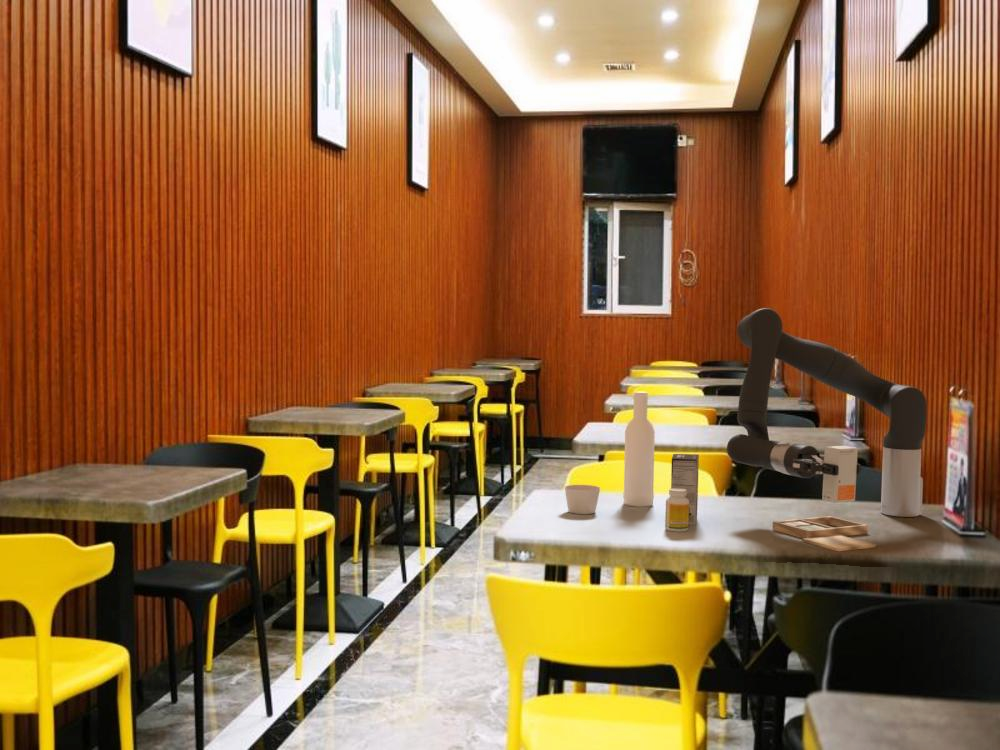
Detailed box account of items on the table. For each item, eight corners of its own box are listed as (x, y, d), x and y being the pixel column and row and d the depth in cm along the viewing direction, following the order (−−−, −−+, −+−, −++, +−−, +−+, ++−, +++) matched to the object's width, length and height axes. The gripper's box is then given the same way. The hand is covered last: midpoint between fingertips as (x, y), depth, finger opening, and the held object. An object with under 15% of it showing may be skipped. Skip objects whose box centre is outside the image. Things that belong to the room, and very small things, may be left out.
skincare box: (835, 503, 225) (838, 448, 224) (821, 500, 229) (823, 446, 228) (856, 501, 228) (858, 447, 227) (841, 498, 231) (843, 445, 231)
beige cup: (606, 513, 262) (607, 488, 261) (578, 516, 257) (579, 491, 256) (584, 507, 269) (585, 483, 269) (557, 510, 264) (557, 486, 264)
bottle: (657, 503, 277) (659, 391, 276) (648, 507, 270) (650, 393, 268) (628, 500, 281) (631, 390, 279) (619, 505, 273) (621, 392, 272)
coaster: (838, 537, 236) (838, 534, 236) (875, 547, 226) (875, 544, 226) (801, 541, 231) (802, 538, 231) (838, 551, 221) (838, 548, 221)
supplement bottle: (660, 528, 243) (661, 488, 243) (679, 526, 245) (680, 486, 245) (674, 532, 238) (675, 491, 238) (693, 531, 241) (694, 490, 240)
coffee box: (671, 517, 258) (672, 453, 257) (697, 518, 256) (698, 454, 256) (669, 524, 249) (671, 457, 248) (696, 525, 247) (698, 458, 247)
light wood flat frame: (829, 524, 251) (829, 516, 251) (867, 533, 241) (867, 525, 240) (772, 529, 243) (772, 521, 243) (808, 539, 233) (809, 531, 232)
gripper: (771, 444, 237) (824, 454, 222) (818, 442, 243) (873, 451, 228) (770, 477, 237) (823, 488, 222) (817, 473, 244) (872, 485, 229)
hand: (848, 469), depth 226 cm, fingers closed on skincare box, 6 cm apart
